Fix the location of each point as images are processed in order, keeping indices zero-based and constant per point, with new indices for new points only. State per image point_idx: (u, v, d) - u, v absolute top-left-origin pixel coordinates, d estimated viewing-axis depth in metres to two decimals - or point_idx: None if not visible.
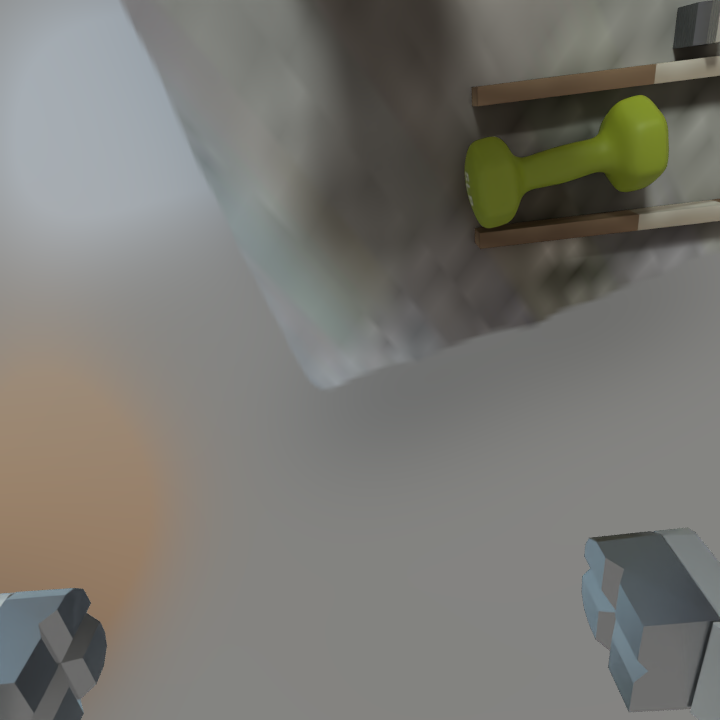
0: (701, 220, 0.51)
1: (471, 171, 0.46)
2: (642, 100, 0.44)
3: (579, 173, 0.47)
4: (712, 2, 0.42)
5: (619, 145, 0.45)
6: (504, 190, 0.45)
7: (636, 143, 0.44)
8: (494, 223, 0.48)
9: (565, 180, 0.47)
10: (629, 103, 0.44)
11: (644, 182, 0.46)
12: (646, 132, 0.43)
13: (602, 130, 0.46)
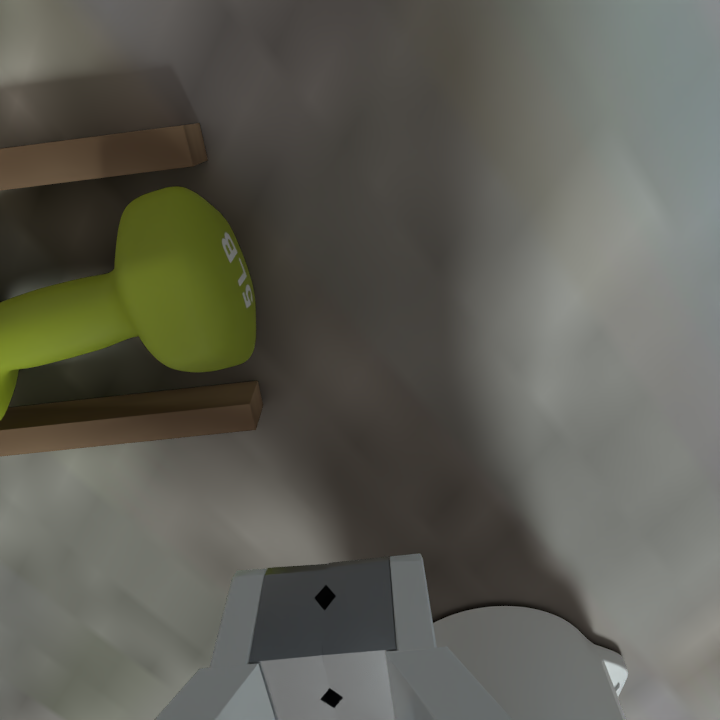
0: None
1: (242, 325, 0.22)
2: None
3: (6, 320, 0.22)
4: None
5: None
6: (158, 315, 0.19)
7: None
8: (160, 217, 0.19)
9: (32, 303, 0.22)
10: None
11: None
12: None
13: (5, 378, 0.24)
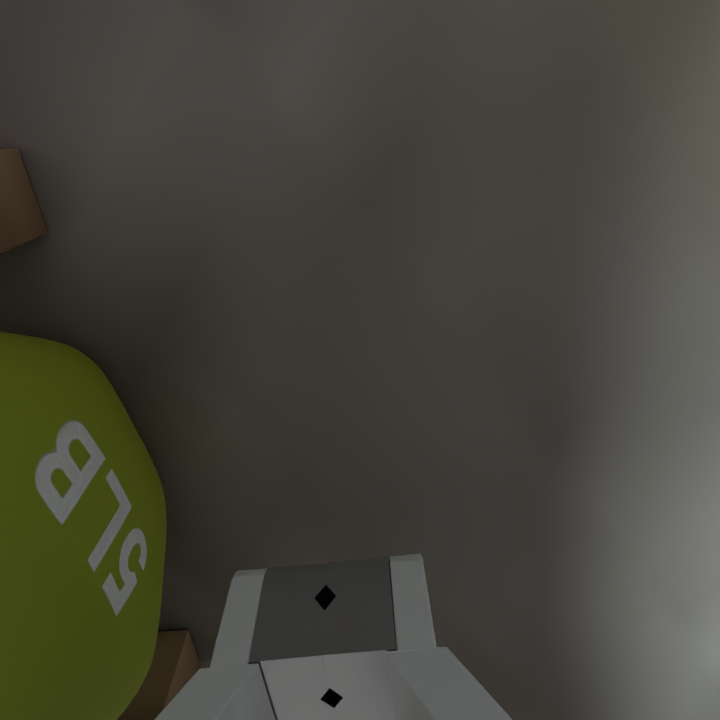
0: None
1: (94, 684, 0.08)
2: None
3: None
4: None
5: None
6: None
7: None
8: None
9: None
10: None
11: None
12: None
13: None
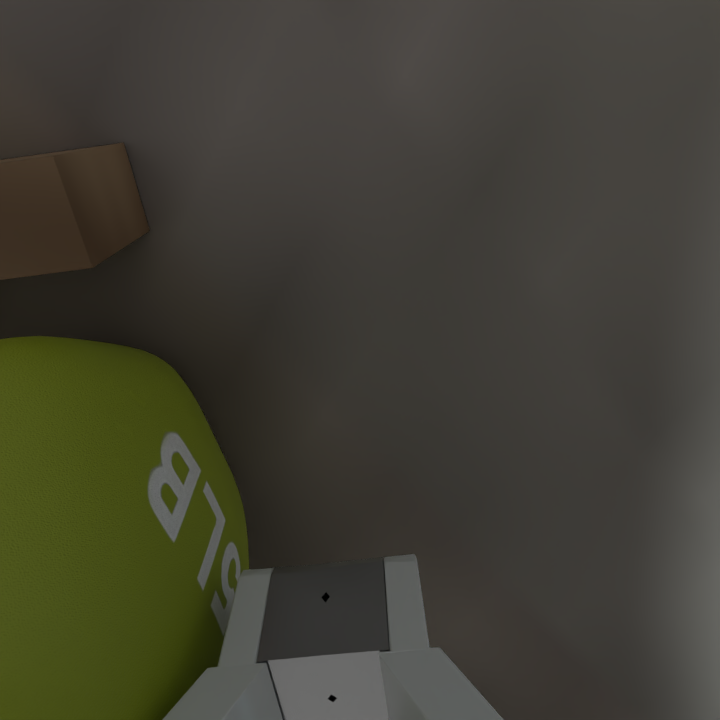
0: None
1: None
2: None
3: None
4: None
5: None
6: None
7: None
8: None
9: None
10: None
11: None
12: None
13: None
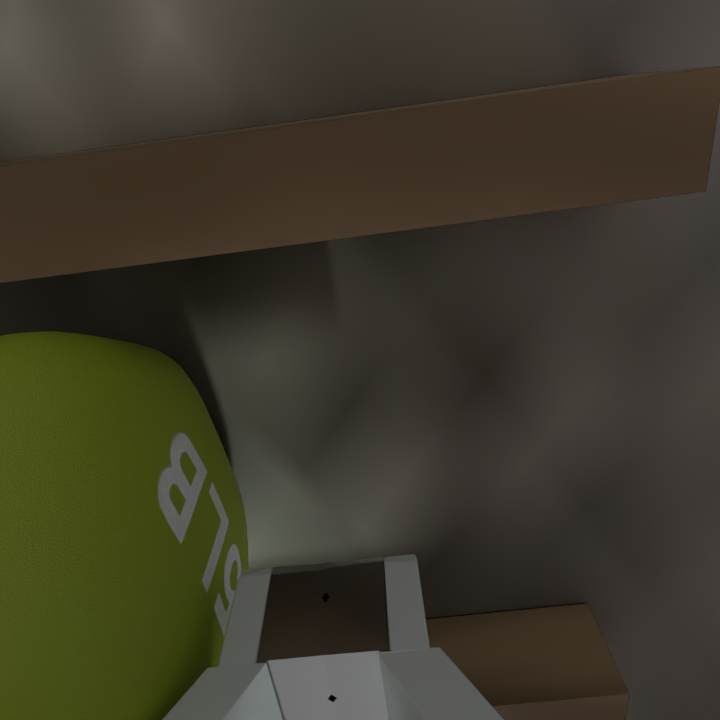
0: None
1: None
2: None
3: None
4: None
5: None
6: None
7: None
8: None
9: None
10: None
11: None
12: None
13: None
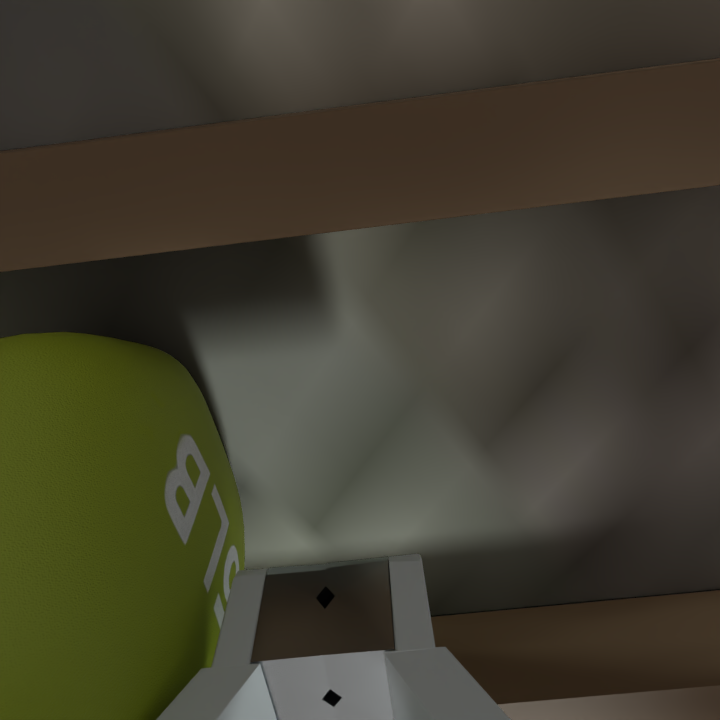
0: None
1: None
2: None
3: None
4: None
5: None
6: None
7: None
8: None
9: None
10: None
11: None
12: None
13: None
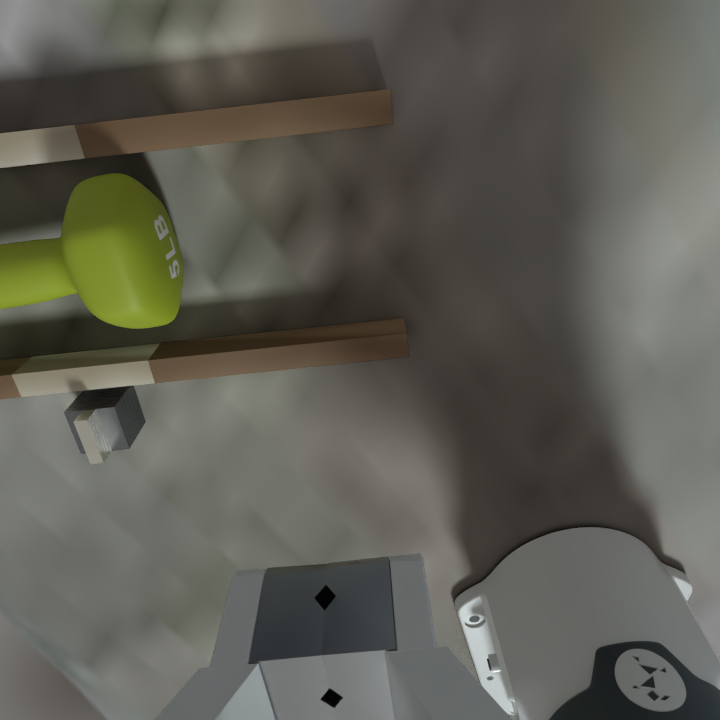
0: None
1: (165, 291, 0.26)
2: None
3: None
4: (111, 449, 0.33)
5: None
6: (93, 276, 0.24)
7: None
8: (102, 197, 0.24)
9: None
10: None
11: None
12: None
13: None
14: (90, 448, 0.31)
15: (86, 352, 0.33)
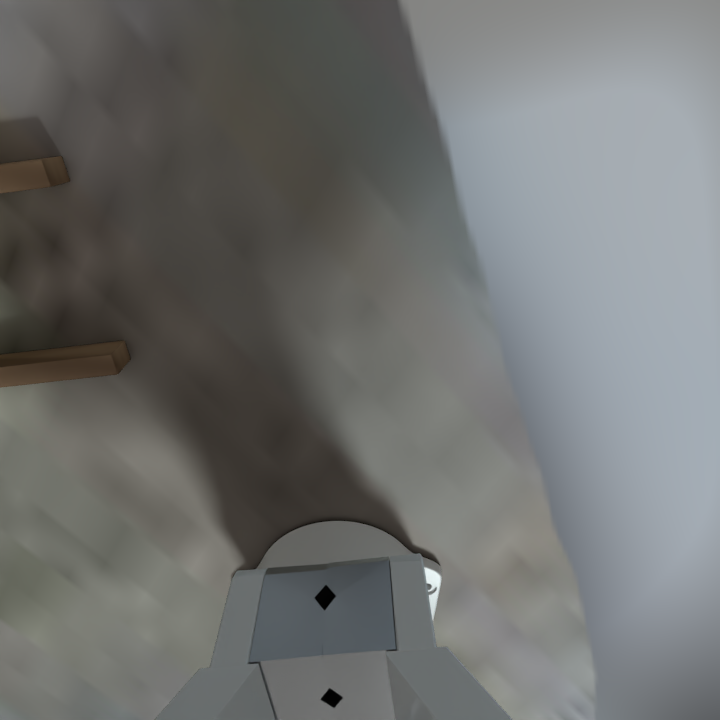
0: None
1: None
2: None
3: None
4: None
5: None
6: None
7: None
8: None
9: None
10: None
11: None
12: None
13: None
14: None
15: None
